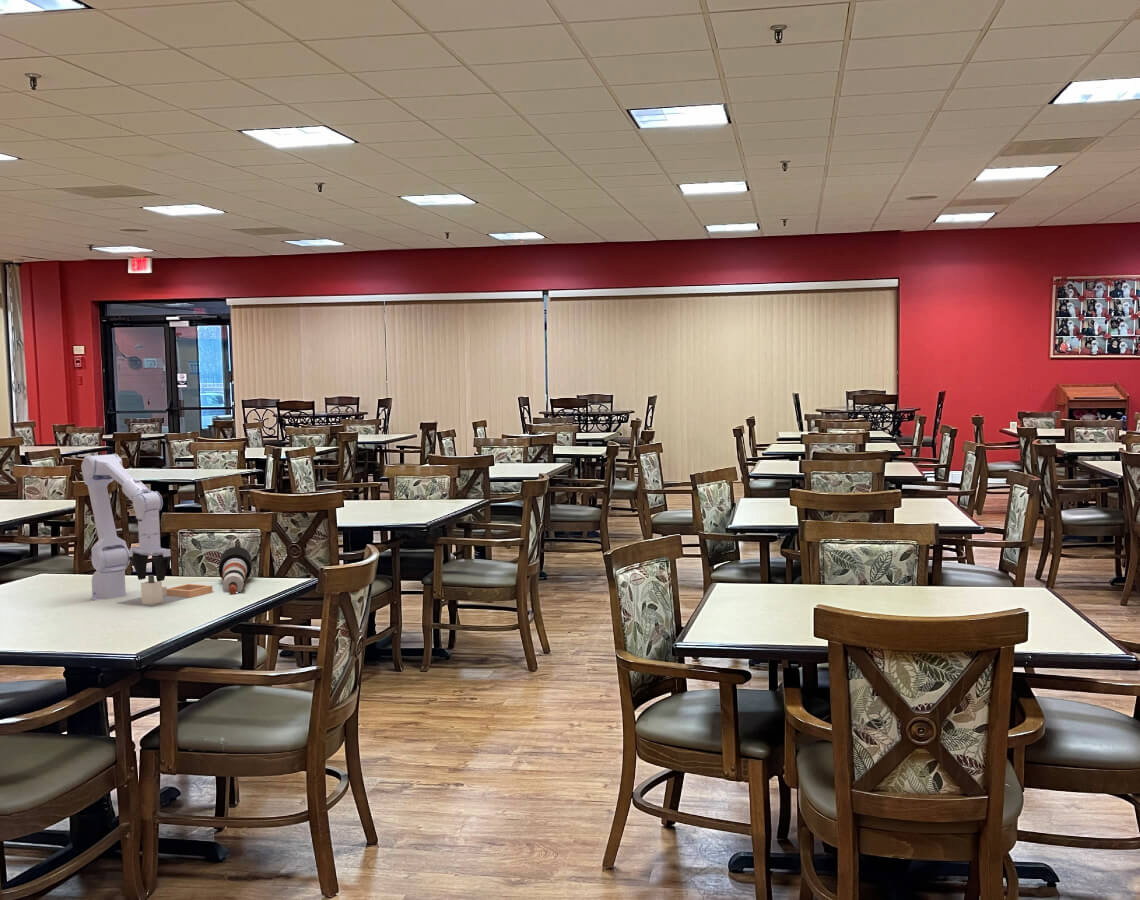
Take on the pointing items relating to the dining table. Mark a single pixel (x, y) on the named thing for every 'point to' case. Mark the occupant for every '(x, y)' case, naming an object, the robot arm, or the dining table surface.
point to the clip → (164, 591)
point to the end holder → (189, 590)
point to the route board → (165, 600)
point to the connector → (151, 591)
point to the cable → (235, 569)
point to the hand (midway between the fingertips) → (151, 580)
